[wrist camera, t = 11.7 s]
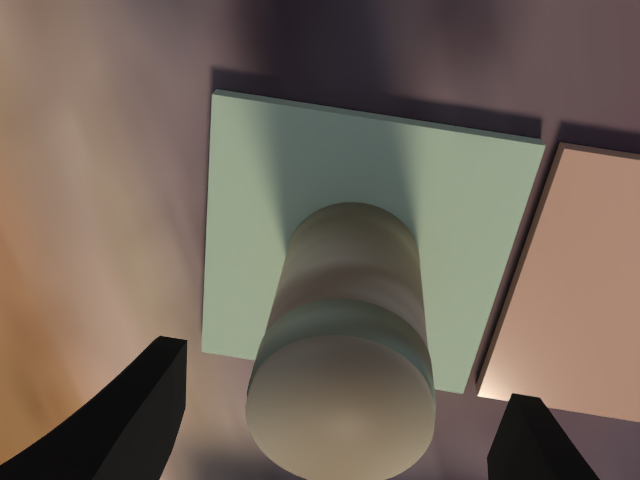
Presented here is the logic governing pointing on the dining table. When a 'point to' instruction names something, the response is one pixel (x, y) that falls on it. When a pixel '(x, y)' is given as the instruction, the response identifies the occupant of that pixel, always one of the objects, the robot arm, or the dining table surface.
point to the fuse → (345, 351)
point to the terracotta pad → (576, 292)
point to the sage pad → (363, 187)
